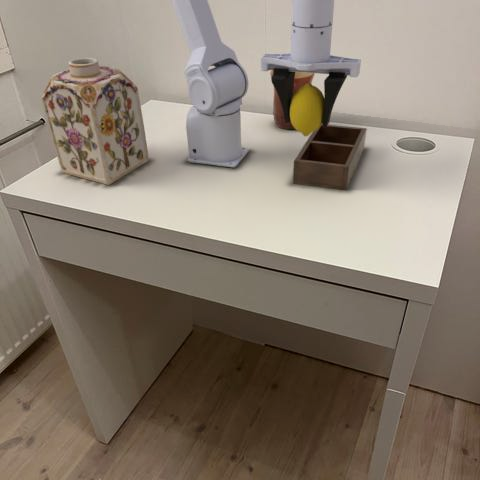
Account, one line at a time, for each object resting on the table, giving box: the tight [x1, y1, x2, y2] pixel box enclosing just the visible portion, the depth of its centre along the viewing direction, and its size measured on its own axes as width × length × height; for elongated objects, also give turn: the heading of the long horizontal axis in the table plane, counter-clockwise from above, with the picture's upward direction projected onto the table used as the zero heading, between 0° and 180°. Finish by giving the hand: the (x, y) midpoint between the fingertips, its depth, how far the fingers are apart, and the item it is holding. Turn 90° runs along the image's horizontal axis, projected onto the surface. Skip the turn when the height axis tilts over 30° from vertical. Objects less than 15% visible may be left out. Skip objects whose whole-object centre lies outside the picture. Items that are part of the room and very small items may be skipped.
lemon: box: [290, 83, 324, 137], centre depth 78 cm, size 6×6×8 cm
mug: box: [269, 70, 316, 130], centre depth 101 cm, size 12×9×10 cm
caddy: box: [292, 124, 368, 191], centre depth 89 cm, size 9×17×4 cm, turn 160°
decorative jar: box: [41, 57, 150, 186], centre depth 86 cm, size 12×12×18 cm
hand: (306, 122), depth 79 cm, fingers closed on lemon, 5 cm apart
